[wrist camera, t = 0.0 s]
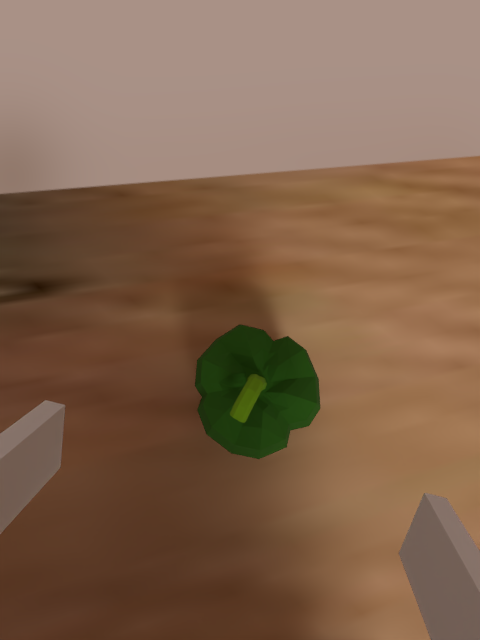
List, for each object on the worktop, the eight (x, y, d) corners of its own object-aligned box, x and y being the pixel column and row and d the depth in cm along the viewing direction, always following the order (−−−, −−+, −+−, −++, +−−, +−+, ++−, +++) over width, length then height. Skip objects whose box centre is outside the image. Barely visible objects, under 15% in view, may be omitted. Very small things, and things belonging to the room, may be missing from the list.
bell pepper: (254, 331, 31) (267, 279, 22) (319, 406, 29) (364, 383, 19) (176, 392, 29) (153, 364, 19) (240, 477, 27) (249, 491, 17)
